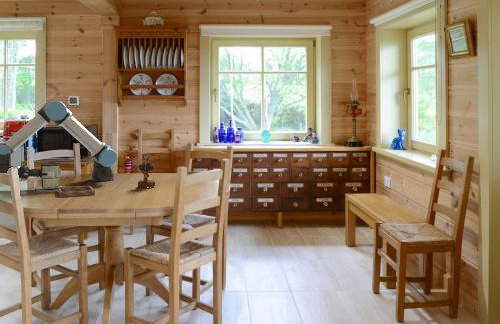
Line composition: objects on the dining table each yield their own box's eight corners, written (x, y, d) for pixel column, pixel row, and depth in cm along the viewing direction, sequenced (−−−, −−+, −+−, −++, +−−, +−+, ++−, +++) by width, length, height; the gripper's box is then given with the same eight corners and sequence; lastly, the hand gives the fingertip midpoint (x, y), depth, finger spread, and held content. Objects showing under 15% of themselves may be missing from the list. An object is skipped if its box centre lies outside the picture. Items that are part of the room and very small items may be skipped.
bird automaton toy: (157, 188, 308) (154, 155, 305) (138, 190, 305) (135, 157, 302) (154, 184, 322) (151, 153, 320) (136, 186, 319) (133, 154, 317)
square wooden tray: (90, 189, 301) (90, 185, 300) (94, 194, 284) (94, 190, 284) (57, 191, 293) (57, 187, 293) (60, 197, 277) (60, 192, 277)
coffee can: (37, 187, 298) (36, 163, 297) (53, 185, 307) (52, 162, 305) (48, 189, 293) (47, 164, 291) (63, 187, 301) (63, 163, 299)
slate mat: (64, 186, 310) (64, 185, 310) (66, 190, 296) (66, 189, 296) (35, 188, 304) (35, 187, 304) (36, 192, 289) (36, 191, 289)
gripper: (30, 176, 311) (65, 176, 310) (10, 181, 289) (49, 182, 288) (29, 163, 311) (65, 164, 309) (10, 168, 288) (48, 169, 287)
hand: (57, 173), depth 299 cm, fingers closed on coffee can, 10 cm apart
